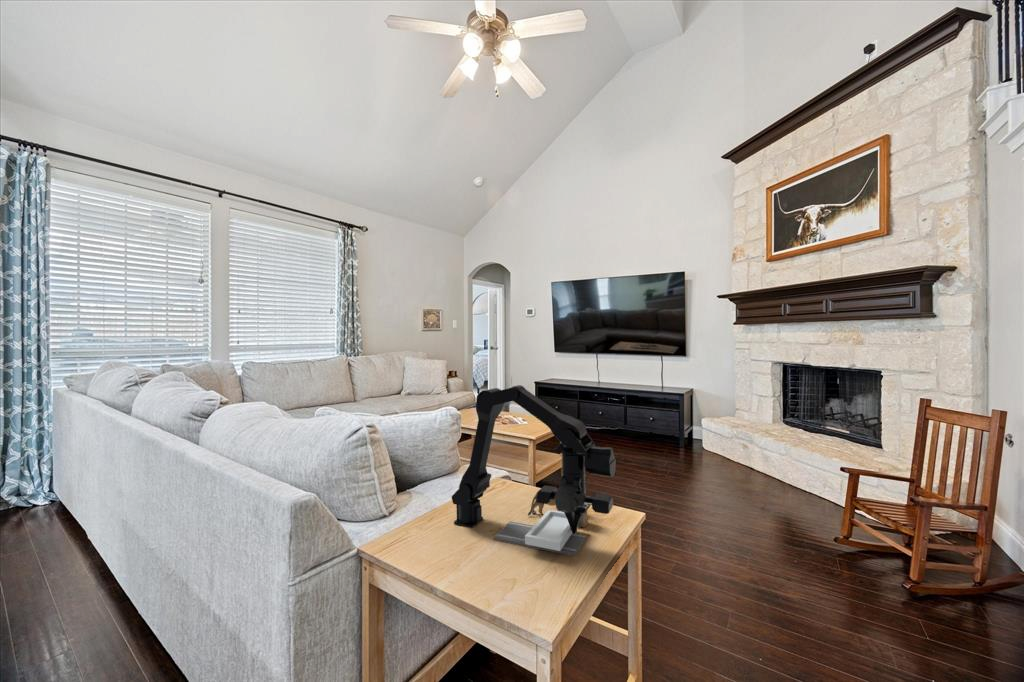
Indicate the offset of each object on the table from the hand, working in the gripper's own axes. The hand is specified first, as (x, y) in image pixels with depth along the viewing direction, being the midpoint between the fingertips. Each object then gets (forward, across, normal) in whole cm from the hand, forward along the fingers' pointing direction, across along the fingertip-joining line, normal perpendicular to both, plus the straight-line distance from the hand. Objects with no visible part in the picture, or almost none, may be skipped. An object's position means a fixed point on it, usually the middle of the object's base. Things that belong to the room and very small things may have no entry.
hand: (574, 532), depth 104 cm
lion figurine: (+4, -12, +16) cm, 21 cm away
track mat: (+3, -10, 0) cm, 10 cm away
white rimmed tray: (+3, -6, 0) cm, 6 cm away
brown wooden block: (+3, -2, +12) cm, 13 cm away
